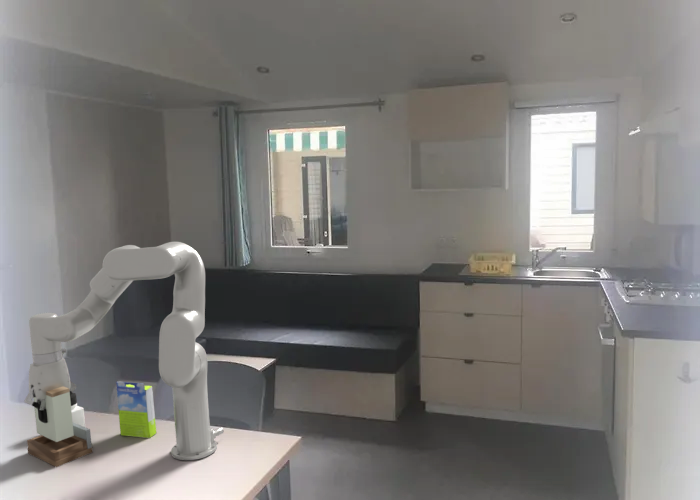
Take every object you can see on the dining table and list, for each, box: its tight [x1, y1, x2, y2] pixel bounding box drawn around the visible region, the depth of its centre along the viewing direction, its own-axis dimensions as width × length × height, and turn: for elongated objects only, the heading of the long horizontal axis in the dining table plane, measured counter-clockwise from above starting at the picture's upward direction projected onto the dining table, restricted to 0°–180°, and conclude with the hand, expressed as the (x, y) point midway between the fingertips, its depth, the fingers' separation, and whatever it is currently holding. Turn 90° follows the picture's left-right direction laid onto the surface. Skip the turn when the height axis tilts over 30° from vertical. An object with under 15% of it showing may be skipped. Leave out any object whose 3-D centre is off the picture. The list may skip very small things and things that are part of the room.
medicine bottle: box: [70, 391, 86, 427], centre depth 192 cm, size 7×7×12 cm
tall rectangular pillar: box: [32, 386, 74, 442], centre depth 175 cm, size 5×11×14 cm, turn 53°
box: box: [115, 381, 157, 439], centre depth 187 cm, size 10×4×17 cm, turn 74°
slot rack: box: [26, 422, 93, 468], centre depth 177 cm, size 11×16×7 cm
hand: (53, 417), depth 175 cm, fingers closed on tall rectangular pillar, 5 cm apart
